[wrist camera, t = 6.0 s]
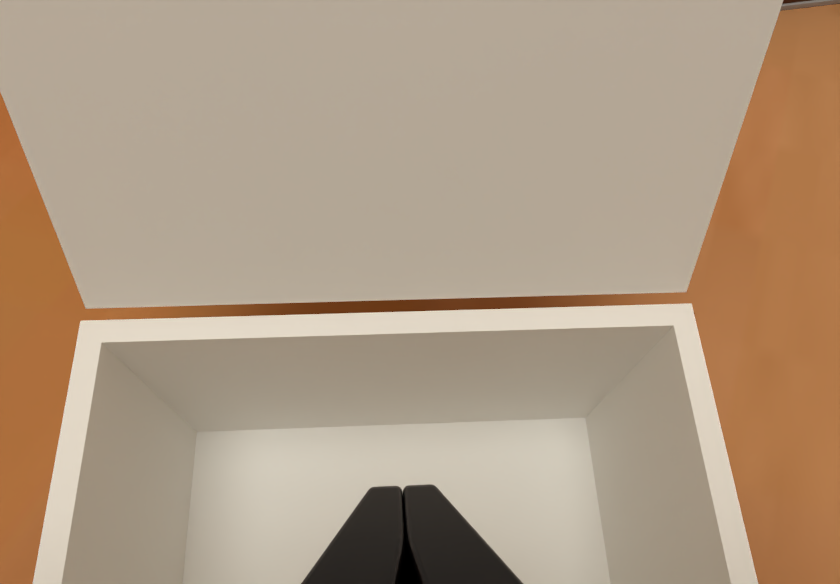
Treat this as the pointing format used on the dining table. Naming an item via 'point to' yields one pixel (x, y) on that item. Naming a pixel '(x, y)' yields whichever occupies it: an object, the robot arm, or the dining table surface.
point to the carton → (393, 444)
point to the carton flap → (378, 143)
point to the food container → (805, 3)
